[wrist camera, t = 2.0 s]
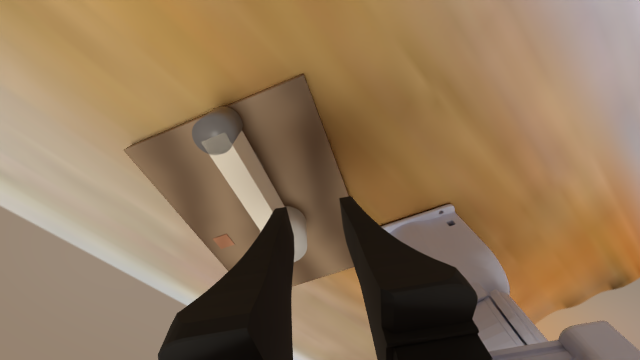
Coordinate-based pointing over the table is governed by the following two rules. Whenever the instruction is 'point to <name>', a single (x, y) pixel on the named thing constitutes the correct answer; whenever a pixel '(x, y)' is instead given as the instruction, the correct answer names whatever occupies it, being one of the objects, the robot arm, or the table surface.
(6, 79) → the table surface
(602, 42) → the table surface
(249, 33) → the table surface
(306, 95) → the base
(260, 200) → the coupling lever
